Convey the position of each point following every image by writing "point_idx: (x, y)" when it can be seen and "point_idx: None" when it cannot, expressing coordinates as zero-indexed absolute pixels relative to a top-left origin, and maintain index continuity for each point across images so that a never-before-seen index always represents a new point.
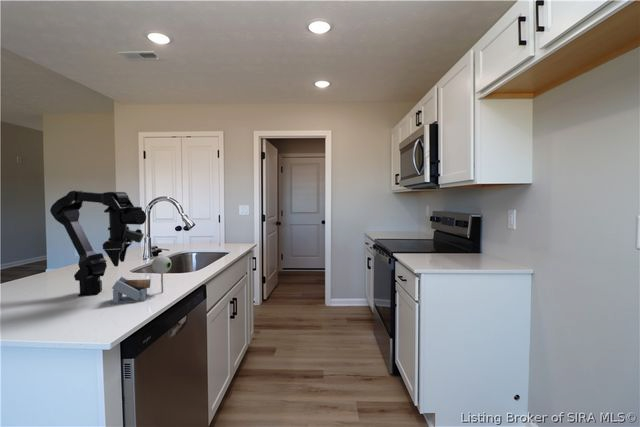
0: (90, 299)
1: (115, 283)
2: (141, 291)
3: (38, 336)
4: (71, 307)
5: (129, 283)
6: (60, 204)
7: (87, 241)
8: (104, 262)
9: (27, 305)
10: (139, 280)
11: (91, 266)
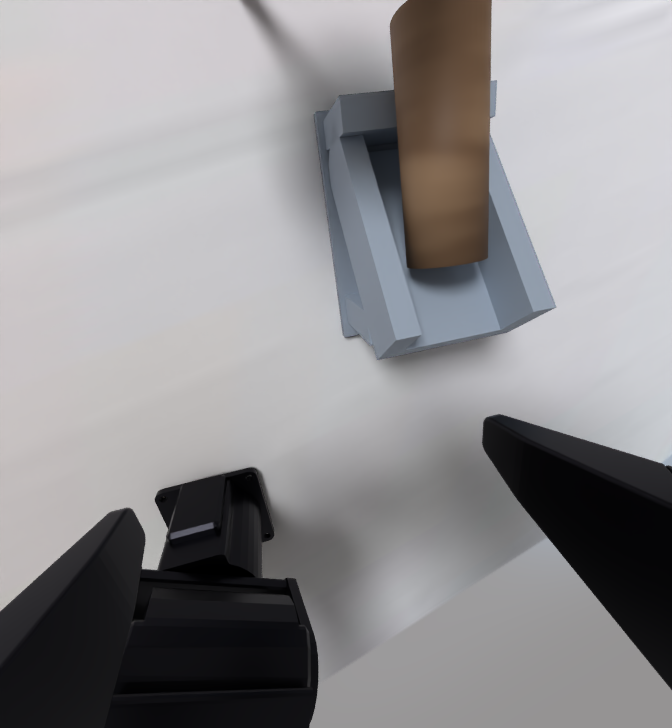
0: (334, 453)
1: (534, 315)
2: (490, 105)
3: None
4: (440, 461)
5: (488, 217)
6: None
7: None
8: (128, 693)
9: (366, 612)
10: (482, 116)
11: (310, 674)
